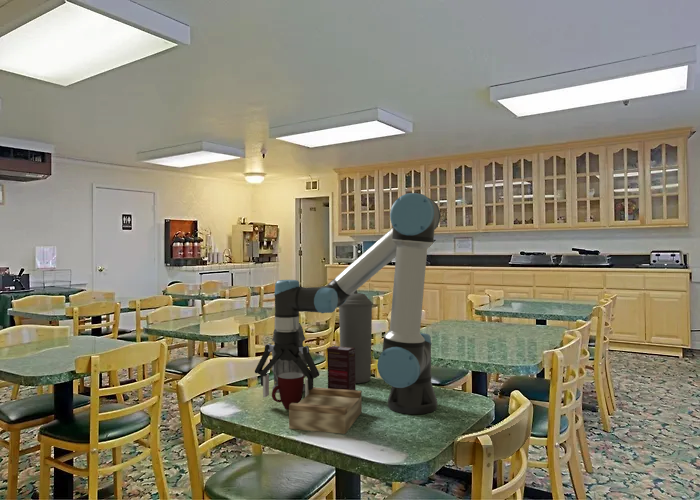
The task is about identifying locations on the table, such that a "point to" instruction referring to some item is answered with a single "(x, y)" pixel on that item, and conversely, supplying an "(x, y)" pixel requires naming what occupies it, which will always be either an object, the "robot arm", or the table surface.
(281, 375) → the mug
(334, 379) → the supplement box
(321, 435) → the table surface
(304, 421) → the pedestal
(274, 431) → the table surface
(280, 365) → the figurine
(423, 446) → the table surface
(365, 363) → the canister
